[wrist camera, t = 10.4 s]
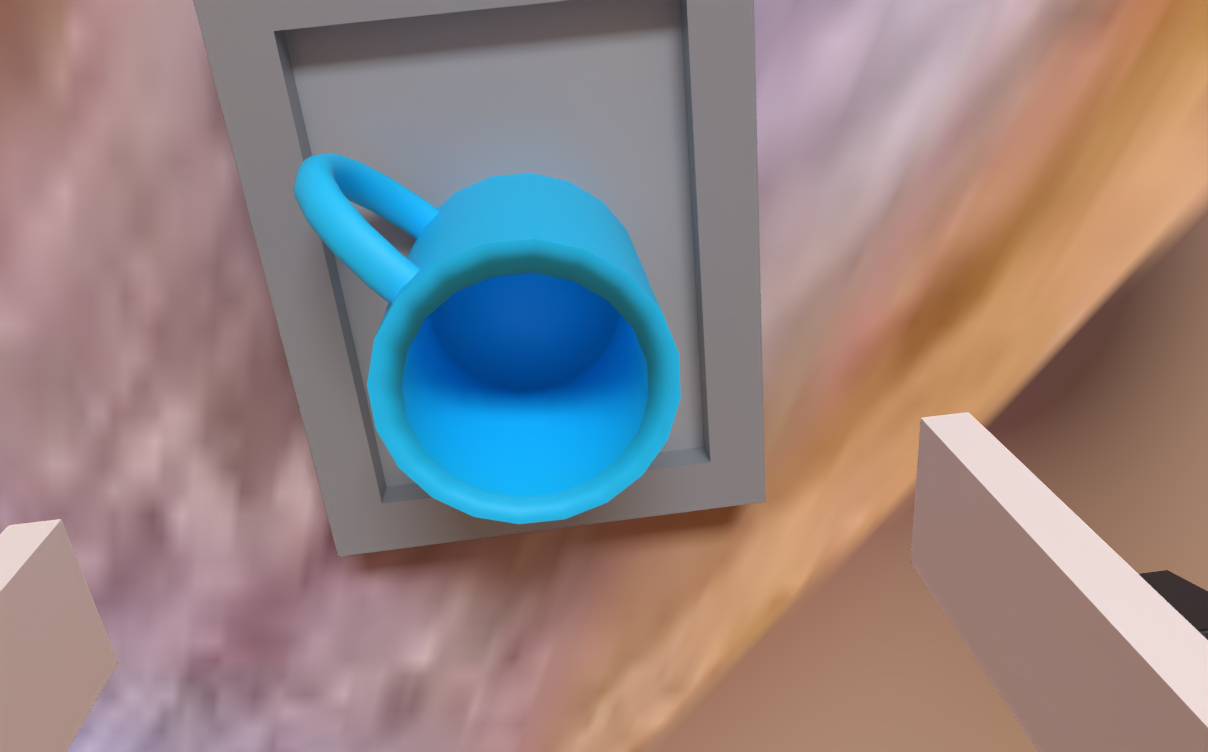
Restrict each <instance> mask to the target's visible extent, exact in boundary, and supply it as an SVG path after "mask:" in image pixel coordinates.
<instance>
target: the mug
mask: <svg viewBox="0 0 1208 752" xmlns="http://www.w3.org/2000/svg"><path fill="white" fill-rule="evenodd" d="M294 196H295V198H296V200H297V202H298V204H299V206H300V208H301V210H302V212H303V214H304V216H305V218H306V220H307V222H308V224H309V225H310V226H311V227H312V228H313V230H314V231H315V232H316V233H317V234H318V236H319V237H320V238H321V239H322V240H323V242H324V243H325V244H326V245H327V246H328V248H329V249H330V250H331V251H332V252H333V254H334V255H335V256H337V257H338V258H339V259H340V260H341V261H342V262H343V263H344V264H345V265H346V266H347V267H348V268H349V269H350V270H351V271H352V272H354V273H355V274H356V275H357V276H358V277H359V278H360V279H361V280H362V281H363V282H364V283H365V284H366V285H367V286H368V287H369V288H371V289H372V290H373V291H374V292H376V293H377V294H378V295H380V296H381V297H382V298H383V299H385V300H386V301H387V302H388V306H387V308H386V311H385V313H384V316H383V318H382V321H381V323H380V326H379V328H378V331H377V333H376V336H375V338H374V343H373V349H372V356H371V362H370V368H369V374H368V381H367V388H368V393H369V398H370V403H371V408H372V413H373V418H374V423H375V428H376V430H377V432H378V434H379V436H380V437H381V439H382V441H383V442H384V444H385V446H386V447H387V449H388V451H389V453H390V454H391V456H392V458H393V459H394V461H395V463H396V464H397V466H398V468H399V469H400V470H402V471H403V472H404V473H405V474H406V475H407V476H408V477H409V478H411V479H412V480H413V481H414V482H415V483H416V484H417V485H419V486H420V487H421V488H422V489H423V490H424V491H425V492H426V493H428V494H429V495H430V496H431V497H432V498H434V499H436V500H438V501H440V502H443V503H445V504H447V505H449V506H451V507H453V508H456V509H458V510H460V511H462V512H464V513H466V514H469V515H471V516H473V517H477V518H483V519H490V520H496V521H502V522H508V523H515V524H526V523H536V522H545V521H554V520H564V519H567V518H570V517H572V516H575V515H577V514H580V513H582V512H585V511H587V510H590V509H592V508H595V507H597V506H600V505H603V504H605V503H607V502H609V501H610V500H611V499H613V498H614V497H615V496H617V495H618V494H619V493H620V492H622V491H623V490H624V489H626V488H627V487H628V486H630V485H631V484H632V483H633V482H635V481H636V480H637V479H639V478H640V477H641V476H643V474H644V473H645V471H646V470H647V468H648V467H649V466H650V464H651V463H652V461H653V460H654V459H655V457H656V456H657V454H658V453H659V452H660V450H661V449H662V447H663V446H664V445H665V443H666V442H667V440H668V438H669V435H670V431H671V428H672V425H673V422H674V418H675V415H676V412H677V409H678V405H679V402H680V399H681V390H680V365H679V352H678V350H677V347H676V345H675V342H674V340H673V337H672V335H671V332H670V330H669V327H668V325H667V322H666V320H665V318H664V315H663V313H662V310H661V308H660V306H659V303H658V301H657V299H656V296H655V294H654V292H653V289H652V287H651V285H650V282H649V280H648V278H647V275H646V273H645V271H644V269H643V266H642V264H641V262H640V259H639V257H638V255H637V252H636V250H635V248H634V245H633V243H632V241H631V238H630V236H629V234H628V231H627V229H626V228H625V227H624V226H623V225H622V224H621V222H620V221H619V220H618V219H617V218H616V217H615V216H614V214H613V213H612V212H611V211H610V210H609V209H608V207H607V206H606V205H605V204H604V203H603V202H602V201H601V200H599V199H597V198H596V197H594V196H592V195H591V194H589V193H588V192H586V191H584V190H583V189H581V188H579V187H578V186H576V185H574V184H573V183H571V182H569V181H564V180H560V179H556V178H551V177H547V176H543V175H538V174H534V173H525V174H514V175H502V176H492V177H490V178H487V179H485V180H483V181H480V182H478V183H476V184H473V185H471V186H469V187H466V188H464V189H462V190H459V191H457V192H456V193H455V194H453V195H452V196H451V197H450V198H449V199H448V200H447V201H446V202H445V203H443V204H442V205H441V206H440V207H439V208H438V209H436V208H435V207H434V206H432V205H431V204H430V203H428V202H427V201H426V200H424V199H423V198H421V197H420V196H418V195H417V194H415V193H413V192H412V191H410V190H409V189H407V188H406V187H404V186H403V185H401V184H399V183H398V182H396V181H395V180H393V179H392V178H390V177H388V176H386V175H385V174H383V173H381V172H379V171H377V170H375V169H373V168H371V167H369V166H367V165H365V164H363V163H362V162H360V161H357V160H354V159H351V158H348V157H345V156H342V155H339V154H335V153H328V154H319V155H314V156H310V157H309V158H307V159H305V160H304V161H303V162H302V163H301V165H300V167H299V168H298V170H297V175H296V180H295V186H294ZM350 201H351V202H353V203H355V204H357V205H360V206H362V207H364V208H366V209H368V210H370V211H372V212H374V213H375V214H377V215H379V216H380V217H382V218H384V219H385V220H387V221H389V222H390V223H392V224H394V225H395V226H397V227H399V228H400V229H402V230H403V231H405V232H406V233H408V234H409V235H410V236H412V237H413V238H415V239H416V240H415V242H414V244H413V246H412V247H411V249H410V251H409V254H408V256H407V258H406V257H405V256H403V255H402V254H401V253H400V252H399V251H398V250H397V249H396V248H395V247H393V246H392V245H391V244H390V243H389V242H388V241H387V240H386V239H385V238H384V237H383V236H382V235H381V234H380V233H379V232H377V231H376V230H375V229H374V228H373V227H372V226H371V225H370V224H369V223H368V222H367V221H366V220H365V219H364V218H363V216H362V215H361V214H360V213H359V212H358V211H357V210H356V208H355V207H354V206H353V205H352V204H351V203H350Z"/></svg>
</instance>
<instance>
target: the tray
mask: <svg viewBox="0 0 1208 752" xmlns="http://www.w3.org/2000/svg"><path fill="white" fill-rule="evenodd" d="M193 2H194V5H195V9H196V13H197V17H198V21H199V25H200V28H201V32H202V36H203V40H204V44H205V48H206V51H207V55H208V59H209V63H210V67H211V71H212V74H213V78H214V82H215V86H216V90H217V94H218V97H219V101H220V105H221V109H222V113H223V117H224V120H225V124H226V128H227V132H228V136H229V140H230V143H231V147H232V151H233V155H234V159H235V163H236V166H237V170H238V174H239V178H240V182H241V186H242V190H243V193H244V197H245V201H246V205H247V209H248V213H249V216H250V220H251V224H252V228H253V232H254V236H255V239H256V243H257V247H258V251H259V255H260V259H261V262H262V266H263V270H264V274H265V278H266V282H267V285H268V289H269V293H270V297H271V301H272V305H273V308H274V312H275V316H276V320H277V324H278V328H279V331H280V335H281V339H282V343H283V347H284V351H285V354H286V358H287V362H288V366H289V370H290V374H291V377H292V381H293V385H294V389H295V393H296V397H297V400H298V404H299V408H300V412H301V416H302V420H303V423H304V427H305V431H306V435H307V439H308V443H309V447H310V450H311V454H312V458H313V462H314V466H315V470H316V473H317V477H318V481H319V485H320V489H321V493H322V496H323V500H324V504H325V508H326V512H327V516H328V519H329V523H330V527H331V531H332V535H333V539H334V542H335V546H336V550H337V554H338V557H340V556H347V555H355V554H363V553H371V552H379V551H386V550H394V549H402V548H410V547H418V546H425V545H433V544H441V543H449V542H457V541H464V540H472V539H480V538H488V537H496V536H503V535H511V534H519V533H527V532H534V531H542V530H550V529H558V528H566V527H573V526H581V525H589V524H597V523H605V522H612V521H620V520H628V519H636V518H644V517H651V516H659V515H667V514H675V513H683V512H690V511H698V510H706V509H714V508H722V507H729V506H737V505H745V504H753V503H760V502H765V466H764V423H763V380H762V337H761V293H760V250H759V207H758V164H757V121H756V77H755V34H754V0H193ZM328 153H335V154H339V155H342V156H345V157H348V158H351V159H354V160H357V161H360V162H362V163H363V164H365V165H367V166H369V167H371V168H373V169H375V170H377V171H379V172H381V173H383V174H385V175H386V176H388V177H390V178H392V179H393V180H395V181H396V182H398V183H399V184H401V185H403V186H404V187H406V188H407V189H409V190H410V191H412V192H413V193H415V194H417V195H418V196H420V197H421V198H423V199H424V200H426V201H427V202H428V203H430V204H431V205H432V206H434V207H435V208H436V209H438V208H439V207H440V206H441V205H442V204H443V203H445V202H446V201H447V200H448V199H449V198H450V197H451V196H452V195H453V194H455V193H456V192H457V191H459V190H462V189H464V188H466V187H469V186H471V185H473V184H476V183H478V182H480V181H483V180H485V179H487V178H490V177H492V176H502V175H514V174H525V173H534V174H538V175H543V176H547V177H551V178H556V179H560V180H564V181H569V182H571V183H573V184H574V185H576V186H578V187H579V188H581V189H583V190H584V191H586V192H588V193H589V194H591V195H592V196H594V197H596V198H597V199H599V200H601V201H602V202H603V203H604V204H605V205H606V206H607V207H608V209H609V210H610V211H611V212H612V213H613V214H614V216H615V217H616V218H617V219H618V220H619V221H620V222H621V224H622V225H623V226H624V227H625V228H626V229H627V231H628V234H629V236H630V238H631V241H632V243H633V245H634V248H635V250H636V252H637V255H638V257H639V259H640V262H641V264H642V266H643V269H644V271H645V273H646V275H647V278H648V280H649V282H650V285H651V287H652V289H653V292H654V294H655V296H656V299H657V301H658V303H659V306H660V308H661V310H662V313H663V315H664V318H665V320H666V322H667V325H668V327H669V330H670V332H671V335H672V337H673V340H674V342H675V345H676V347H677V350H678V352H679V365H680V390H681V399H680V402H679V405H678V409H677V412H676V415H675V418H674V422H673V425H672V428H671V431H670V435H669V438H668V440H667V442H666V443H665V445H664V446H663V447H662V449H661V450H660V452H659V453H658V454H657V456H656V457H655V459H654V460H653V461H652V463H651V464H650V466H649V467H648V468H647V470H646V471H645V473H644V474H643V476H641V477H640V478H639V479H637V480H636V481H635V482H633V483H632V484H631V485H630V486H628V487H627V488H626V489H624V490H623V491H622V492H620V493H619V494H618V495H617V496H615V497H614V498H613V499H611V500H610V501H609V502H607V503H605V504H603V505H600V506H597V507H595V508H592V509H590V510H587V511H585V512H582V513H580V514H577V515H575V516H572V517H570V518H567V519H564V520H554V521H545V522H536V523H526V524H515V523H508V522H502V521H496V520H490V519H483V518H477V517H473V516H471V515H469V514H466V513H464V512H462V511H460V510H458V509H456V508H453V507H451V506H449V505H447V504H445V503H443V502H440V501H438V500H436V499H434V498H432V497H431V496H430V495H429V494H428V493H426V492H425V491H424V490H423V489H422V488H421V487H420V486H419V485H417V484H416V483H415V482H414V481H413V480H412V479H411V478H409V477H408V476H407V475H406V474H405V473H404V472H403V471H402V470H400V469H399V468H398V466H397V464H396V463H395V461H394V459H393V458H392V456H391V454H390V453H389V451H388V449H387V447H386V446H385V444H384V442H383V441H382V439H381V437H380V436H379V434H378V432H377V430H376V428H375V423H374V418H373V413H372V408H371V403H370V398H369V393H368V388H367V381H368V374H369V368H370V362H371V356H372V349H373V343H374V338H375V336H376V333H377V331H378V328H379V326H380V323H381V321H382V318H383V316H384V313H385V311H386V308H387V306H388V302H387V301H386V300H385V299H383V298H382V297H381V296H380V295H378V294H377V293H376V292H374V291H373V290H372V289H371V288H369V287H368V286H367V285H366V284H365V283H364V282H363V281H362V280H361V279H360V278H359V277H358V276H357V275H356V274H355V273H354V272H352V271H351V270H350V269H349V268H348V267H347V266H346V265H345V264H344V263H343V262H342V261H341V260H340V259H339V258H338V257H337V256H335V255H334V254H333V252H332V251H331V250H330V249H329V248H328V246H327V245H326V244H325V243H324V242H323V240H322V239H321V238H320V237H319V236H318V234H317V233H316V232H315V231H314V230H313V228H312V227H311V226H310V225H309V224H308V222H307V220H306V218H305V216H304V214H303V212H302V210H301V208H300V206H299V204H298V202H297V200H296V198H295V196H294V186H295V180H296V175H297V170H298V168H299V167H300V165H301V163H302V162H303V161H304V160H305V159H307V158H309V157H310V156H314V155H319V154H328ZM350 203H351V204H352V205H353V206H354V207H355V208H356V210H357V211H358V212H359V213H360V214H361V215H362V216H363V218H364V219H365V220H366V221H367V222H368V223H369V224H370V225H371V226H372V227H373V228H374V229H375V230H376V231H377V232H379V233H380V234H381V235H382V236H383V237H384V238H385V239H386V240H387V241H388V242H389V243H390V244H391V245H392V246H393V247H395V248H396V249H397V250H398V251H399V252H400V253H401V254H402V255H403V256H405V257H406V258H407V256H408V254H409V251H410V249H411V247H412V246H413V244H414V242H415V240H416V239H415V238H413V237H412V236H410V235H409V234H408V233H406V232H405V231H403V230H402V229H400V228H399V227H397V226H395V225H394V224H392V223H390V222H389V221H387V220H385V219H384V218H382V217H380V216H379V215H377V214H375V213H374V212H372V211H370V210H368V209H366V208H364V207H362V206H360V205H357V204H355V203H353V202H351V201H350Z"/></svg>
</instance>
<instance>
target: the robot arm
mask: <svg viewBox="0 0 1208 752" xmlns="http://www.w3.org/2000/svg"><path fill="white" fill-rule="evenodd" d="M911 564H912V566H913V567H914V569H915V570H916V572H917V573H918V575H919V576H920V578H921V579H922V581H923V582H924V584H925V585H926V587H927V588H928V589H929V591H930V592H931V594H932V595H933V597H934V598H935V600H936V601H937V603H938V604H939V606H940V607H941V609H942V610H943V612H944V613H945V614H946V616H947V617H948V619H949V620H950V622H951V623H952V625H953V626H954V628H955V629H956V631H957V632H958V634H959V635H960V637H961V638H962V640H963V641H964V643H965V644H966V646H967V647H968V648H969V650H970V651H971V653H972V654H973V656H974V657H975V659H976V660H977V662H978V663H979V665H980V666H981V668H982V669H983V671H984V672H985V673H986V675H987V676H988V678H989V679H990V681H991V682H992V684H993V685H994V687H995V688H996V690H997V691H998V693H999V694H1000V696H1001V697H1002V699H1003V700H1004V702H1005V703H1006V704H1007V706H1008V707H1009V709H1010V710H1011V712H1012V713H1013V715H1014V716H1015V718H1016V719H1017V721H1018V722H1019V724H1020V725H1021V727H1022V728H1023V730H1024V731H1025V732H1026V734H1027V735H1028V737H1029V738H1030V740H1031V741H1032V743H1033V744H1034V746H1035V747H1036V749H1037V750H1038V751H1039V752H1208V591H1206V590H1204V589H1202V588H1200V587H1198V586H1196V585H1194V584H1192V583H1191V582H1189V581H1187V580H1185V579H1183V578H1181V577H1179V576H1177V575H1175V574H1173V573H1172V572H1170V571H1167V570H1166V571H1158V572H1150V573H1143V574H1138V573H1137V572H1136V571H1135V570H1133V569H1132V568H1131V567H1130V566H1129V565H1128V564H1127V563H1126V562H1125V561H1124V560H1123V559H1122V558H1121V557H1120V556H1119V555H1118V554H1117V553H1116V552H1115V551H1114V550H1113V549H1111V548H1110V547H1109V546H1108V545H1107V544H1106V543H1105V542H1104V541H1103V540H1102V539H1101V538H1100V537H1099V536H1098V535H1097V534H1096V533H1094V531H1093V530H1092V529H1091V528H1089V527H1088V526H1087V525H1086V524H1085V523H1084V522H1083V521H1082V520H1081V519H1080V518H1079V517H1078V516H1077V515H1076V514H1075V513H1074V512H1073V511H1072V510H1070V508H1068V507H1067V506H1066V505H1065V504H1064V503H1063V502H1062V501H1061V500H1060V499H1059V498H1058V497H1057V496H1056V495H1055V494H1054V493H1053V492H1052V491H1051V490H1050V489H1048V488H1047V487H1046V486H1045V485H1044V484H1043V483H1042V482H1041V481H1040V480H1039V479H1038V478H1037V477H1036V476H1035V475H1034V474H1033V473H1032V472H1031V471H1030V470H1029V469H1028V468H1026V467H1025V466H1024V465H1023V464H1022V463H1021V462H1020V461H1019V460H1018V459H1017V458H1016V457H1015V456H1014V455H1013V454H1012V453H1011V452H1010V451H1009V450H1008V449H1006V447H1004V446H1003V445H1002V444H1001V443H1000V442H999V441H998V440H997V439H996V438H995V437H994V436H993V435H992V434H991V433H990V432H989V431H988V430H987V429H986V428H985V427H983V426H982V425H981V424H980V423H979V422H978V421H977V420H976V419H975V418H974V417H973V416H972V415H971V414H970V413H969V412H966V413H957V414H949V415H940V416H932V417H923V418H921V421H920V436H919V450H918V465H917V479H916V493H915V508H914V522H913V537H912V551H911ZM117 664H118V662H117V659H116V657H115V654H114V651H113V649H112V646H111V644H110V641H109V639H108V636H107V634H106V631H105V629H104V626H103V623H102V621H101V618H100V616H99V613H98V611H97V608H96V606H95V603H94V601H93V598H92V595H91V593H90V590H89V588H88V585H87V583H86V580H85V578H84V575H83V573H82V570H81V568H80V565H79V562H78V560H77V557H76V555H75V552H74V550H73V547H72V545H71V542H70V540H69V537H68V534H67V532H66V529H65V527H64V524H63V522H62V519H58V520H50V521H41V522H33V523H24V524H16V525H9V526H8V527H7V528H6V529H5V530H4V531H3V532H2V533H1V534H0V752H66V751H67V750H68V748H69V746H70V745H71V743H72V741H73V739H74V738H75V736H76V734H77V733H78V731H79V729H80V727H81V726H82V724H83V722H84V721H85V719H86V717H87V715H88V714H89V712H90V710H91V709H92V707H93V705H94V703H95V702H96V700H97V698H98V696H99V695H100V693H101V691H102V690H103V688H104V686H105V684H106V683H107V681H108V679H109V678H110V676H111V674H112V672H113V671H114V669H115V667H116V666H117Z"/></svg>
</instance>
